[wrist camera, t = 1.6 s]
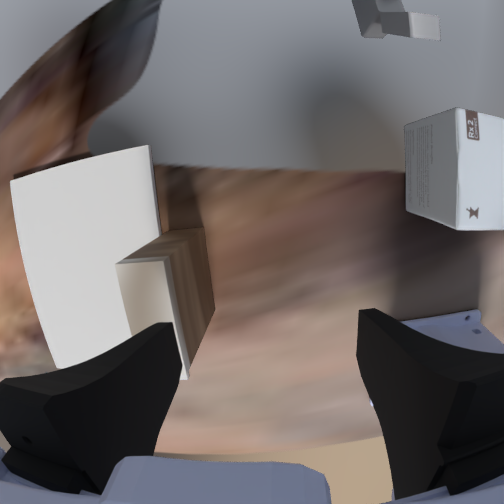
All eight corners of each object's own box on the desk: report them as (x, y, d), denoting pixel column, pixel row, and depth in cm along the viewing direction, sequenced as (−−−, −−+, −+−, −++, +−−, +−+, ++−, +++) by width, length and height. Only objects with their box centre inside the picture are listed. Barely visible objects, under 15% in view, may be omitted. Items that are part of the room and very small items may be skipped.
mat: (151, 145, 20) (148, 144, 20) (189, 376, 25) (188, 379, 24) (13, 180, 22) (10, 181, 21) (59, 365, 26) (56, 367, 26)
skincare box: (472, 213, 20) (535, 233, 12) (402, 211, 20) (456, 233, 13) (472, 131, 18) (536, 125, 11) (401, 122, 19) (455, 105, 11)
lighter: (349, -9, 16) (374, -72, 8) (371, -8, 16) (404, -67, 8) (371, 76, 18) (416, 33, 10) (394, 76, 18) (447, 37, 10)
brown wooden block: (203, 227, 21) (163, 260, 14) (215, 309, 23) (186, 374, 15) (168, 230, 22) (114, 264, 14) (182, 310, 23) (142, 372, 15)
